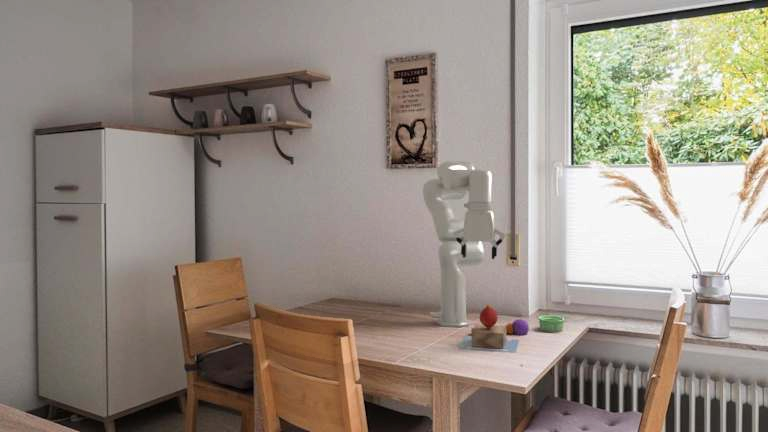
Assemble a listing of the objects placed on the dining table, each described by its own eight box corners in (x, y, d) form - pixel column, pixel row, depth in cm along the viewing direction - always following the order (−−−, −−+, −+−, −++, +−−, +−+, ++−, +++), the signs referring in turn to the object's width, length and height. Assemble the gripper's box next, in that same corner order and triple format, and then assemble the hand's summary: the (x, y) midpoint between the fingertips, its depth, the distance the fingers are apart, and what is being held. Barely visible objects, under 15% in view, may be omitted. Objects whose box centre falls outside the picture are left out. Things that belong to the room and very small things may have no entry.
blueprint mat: (457, 350, 184) (457, 348, 184) (465, 338, 199) (465, 336, 199) (515, 355, 179) (515, 352, 179) (519, 342, 194) (519, 339, 194)
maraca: (469, 323, 205) (524, 318, 207) (471, 341, 204) (526, 335, 206) (473, 324, 199) (529, 318, 201) (475, 342, 198) (532, 335, 200)
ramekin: (565, 333, 206) (565, 321, 206) (539, 332, 208) (539, 320, 207) (562, 327, 215) (562, 315, 214) (537, 326, 216) (537, 315, 216)
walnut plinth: (471, 346, 186) (471, 331, 185) (476, 339, 195) (476, 324, 195) (503, 349, 183) (503, 333, 182) (506, 341, 192) (506, 326, 192)
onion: (477, 326, 192) (477, 302, 191) (494, 326, 192) (494, 302, 192) (482, 331, 186) (481, 306, 186) (499, 330, 186) (499, 305, 186)
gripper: (452, 207, 192) (451, 258, 194) (505, 208, 187) (503, 260, 189) (455, 205, 199) (455, 255, 201) (507, 207, 194) (505, 257, 196)
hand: (478, 257), depth 195 cm, fingers open, 9 cm apart
